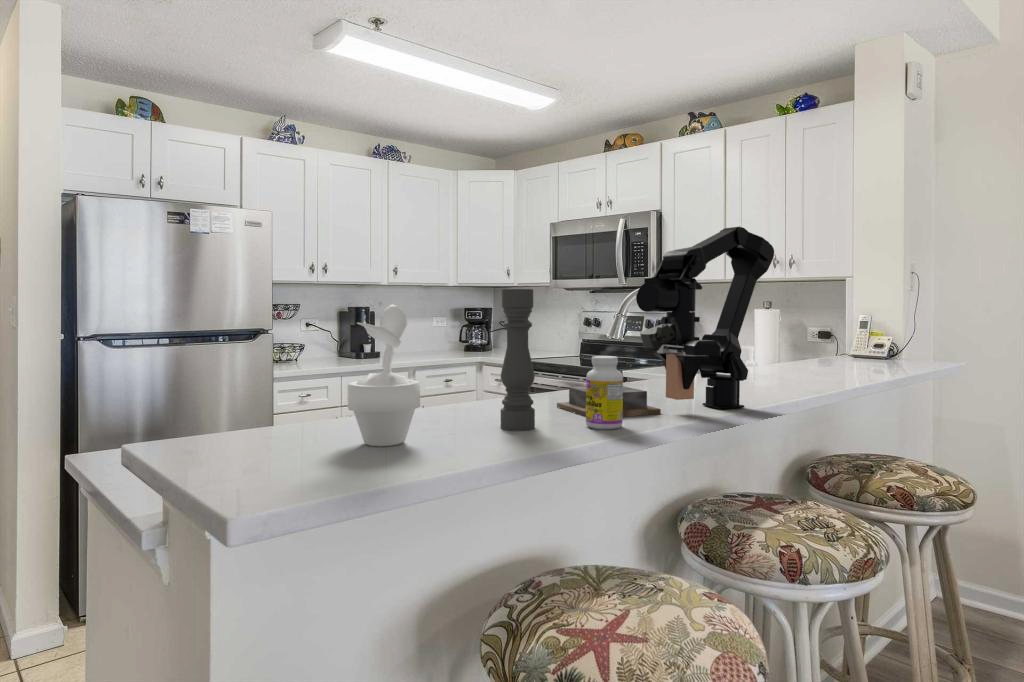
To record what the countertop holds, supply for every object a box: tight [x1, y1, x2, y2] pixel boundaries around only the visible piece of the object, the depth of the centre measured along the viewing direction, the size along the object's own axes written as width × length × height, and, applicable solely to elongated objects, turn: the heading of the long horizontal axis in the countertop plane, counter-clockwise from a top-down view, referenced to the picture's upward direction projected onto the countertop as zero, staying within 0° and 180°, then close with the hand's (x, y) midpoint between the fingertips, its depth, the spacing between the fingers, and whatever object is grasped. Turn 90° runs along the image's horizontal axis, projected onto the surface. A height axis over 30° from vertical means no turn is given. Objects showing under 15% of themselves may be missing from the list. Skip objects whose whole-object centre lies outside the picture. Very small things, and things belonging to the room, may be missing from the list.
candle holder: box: [500, 288, 536, 432], centre depth 119 cm, size 6×6×25 cm
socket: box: [556, 385, 662, 418], centre depth 139 cm, size 16×16×4 cm
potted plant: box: [346, 289, 421, 448], centre depth 104 cm, size 13×12×25 cm
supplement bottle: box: [585, 355, 624, 431], centre depth 119 cm, size 7×7×13 cm
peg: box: [665, 354, 695, 401], centre depth 135 cm, size 4×4×9 cm
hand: (679, 388), depth 135 cm, fingers closed on peg, 4 cm apart
